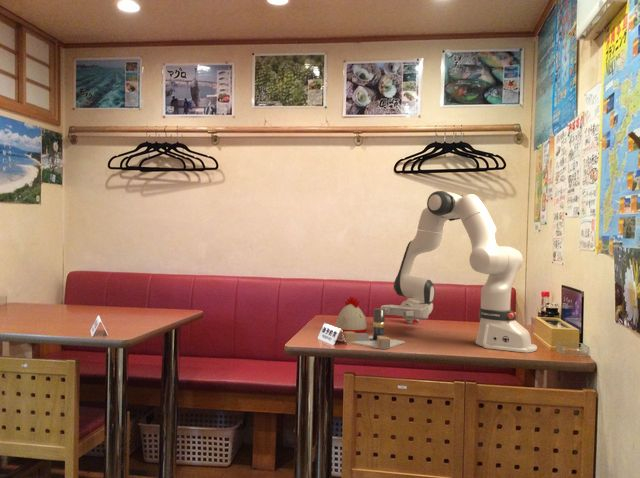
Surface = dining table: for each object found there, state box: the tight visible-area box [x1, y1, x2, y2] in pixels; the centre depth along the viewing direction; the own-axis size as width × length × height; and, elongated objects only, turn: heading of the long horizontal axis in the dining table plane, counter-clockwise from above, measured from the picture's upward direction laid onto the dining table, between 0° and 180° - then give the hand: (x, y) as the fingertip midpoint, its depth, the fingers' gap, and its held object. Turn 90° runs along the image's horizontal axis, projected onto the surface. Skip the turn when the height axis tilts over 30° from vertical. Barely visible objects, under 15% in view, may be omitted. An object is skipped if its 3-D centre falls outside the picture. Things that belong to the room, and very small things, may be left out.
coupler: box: [372, 307, 386, 340], centre depth 199 cm, size 5×5×12 cm
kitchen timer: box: [335, 296, 368, 333], centre depth 221 cm, size 14×14×15 cm
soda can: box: [404, 297, 421, 325], centre depth 246 cm, size 7×7×12 cm
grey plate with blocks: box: [343, 331, 405, 350], centre depth 197 cm, size 24×17×4 cm
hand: (394, 312), depth 208 cm, fingers open, 8 cm apart
